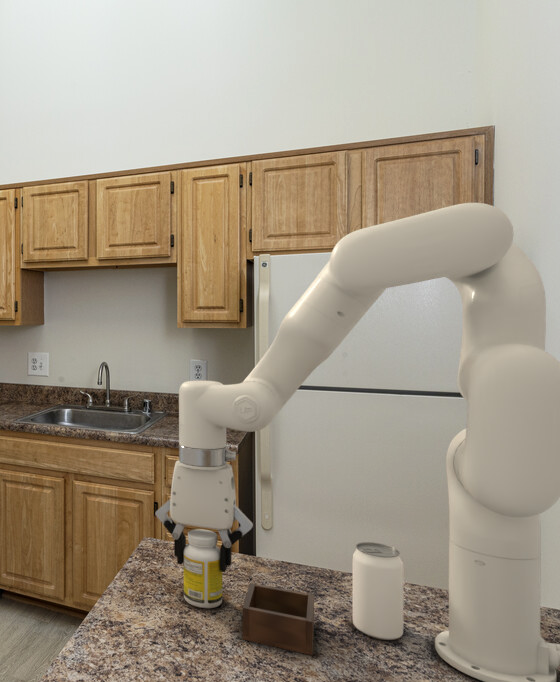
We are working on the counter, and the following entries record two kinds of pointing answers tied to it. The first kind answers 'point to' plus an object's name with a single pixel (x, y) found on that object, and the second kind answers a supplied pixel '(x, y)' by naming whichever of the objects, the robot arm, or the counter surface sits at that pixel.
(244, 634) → the box
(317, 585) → the counter surface
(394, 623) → the can
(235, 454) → the robot arm
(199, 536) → the pill bottle
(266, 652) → the counter surface
